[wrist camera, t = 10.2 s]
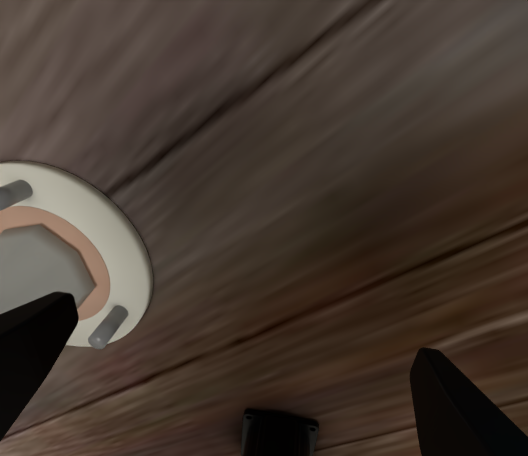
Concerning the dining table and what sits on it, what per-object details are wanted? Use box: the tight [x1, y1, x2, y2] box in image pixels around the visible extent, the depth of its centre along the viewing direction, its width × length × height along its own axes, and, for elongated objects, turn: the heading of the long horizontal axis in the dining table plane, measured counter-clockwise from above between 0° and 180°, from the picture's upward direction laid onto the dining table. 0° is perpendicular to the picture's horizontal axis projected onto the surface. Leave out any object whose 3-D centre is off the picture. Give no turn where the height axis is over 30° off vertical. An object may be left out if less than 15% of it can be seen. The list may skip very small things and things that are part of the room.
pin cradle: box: [0, 161, 153, 349], centre depth 22 cm, size 15×15×4 cm
